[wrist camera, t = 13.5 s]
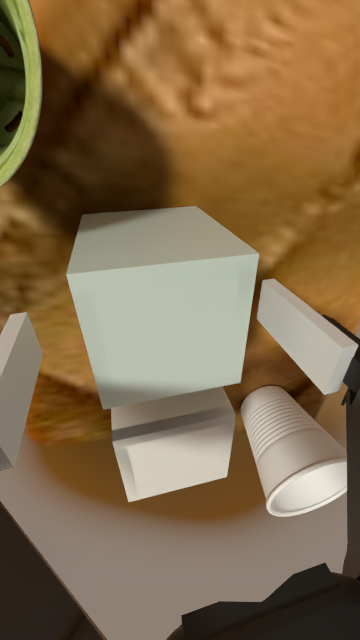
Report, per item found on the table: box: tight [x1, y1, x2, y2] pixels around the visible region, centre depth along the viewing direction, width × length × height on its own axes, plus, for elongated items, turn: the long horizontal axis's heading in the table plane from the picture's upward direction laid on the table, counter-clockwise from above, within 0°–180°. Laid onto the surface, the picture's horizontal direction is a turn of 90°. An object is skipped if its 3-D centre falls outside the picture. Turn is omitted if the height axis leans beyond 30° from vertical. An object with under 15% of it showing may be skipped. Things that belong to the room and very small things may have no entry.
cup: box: [240, 386, 347, 517], centre depth 31 cm, size 10×10×11 cm
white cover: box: [111, 386, 236, 502], centre depth 24 cm, size 8×8×10 cm
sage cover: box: [66, 206, 259, 410], centre depth 18 cm, size 8×8×10 cm
